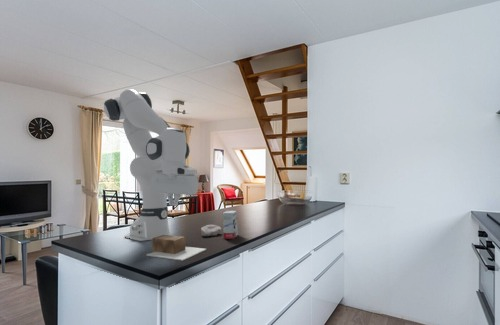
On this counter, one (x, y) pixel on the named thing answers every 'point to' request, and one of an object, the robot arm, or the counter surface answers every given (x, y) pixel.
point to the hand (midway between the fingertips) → (173, 205)
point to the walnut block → (168, 244)
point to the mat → (178, 254)
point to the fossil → (210, 230)
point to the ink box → (230, 224)
